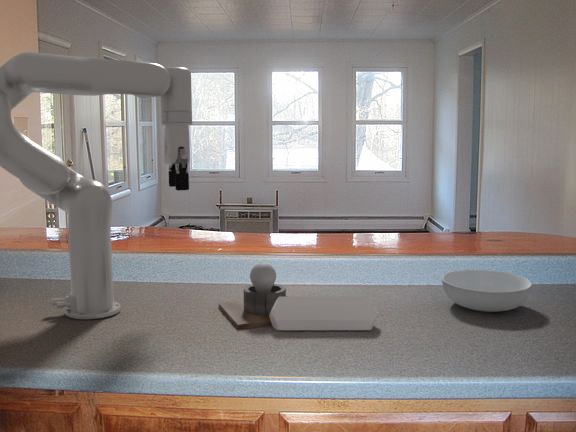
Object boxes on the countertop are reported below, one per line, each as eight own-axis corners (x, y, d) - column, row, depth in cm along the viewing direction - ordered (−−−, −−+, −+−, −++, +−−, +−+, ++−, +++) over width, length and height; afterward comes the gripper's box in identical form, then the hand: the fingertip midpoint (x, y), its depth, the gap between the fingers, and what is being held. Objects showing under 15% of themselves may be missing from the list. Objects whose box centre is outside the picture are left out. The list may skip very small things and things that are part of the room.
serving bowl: (434, 314, 153) (435, 285, 152) (447, 292, 172) (448, 266, 171) (529, 324, 145) (530, 294, 144) (531, 300, 164) (533, 273, 163)
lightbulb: (281, 308, 153) (281, 262, 152) (264, 314, 149) (263, 267, 147) (263, 303, 157) (262, 259, 156) (245, 309, 153) (244, 263, 151)
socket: (238, 329, 142) (237, 302, 141) (218, 307, 159) (218, 283, 158) (314, 320, 148) (314, 294, 147) (288, 300, 165) (288, 276, 164)
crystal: (375, 303, 149) (270, 303, 149) (378, 295, 142) (268, 295, 142) (376, 335, 146) (269, 336, 146) (380, 329, 139) (268, 329, 140)
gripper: (156, 119, 167) (158, 185, 169) (167, 118, 151) (169, 192, 153) (185, 118, 169) (187, 184, 172) (199, 118, 153) (200, 191, 156)
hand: (178, 188), depth 163 cm, fingers open, 9 cm apart
